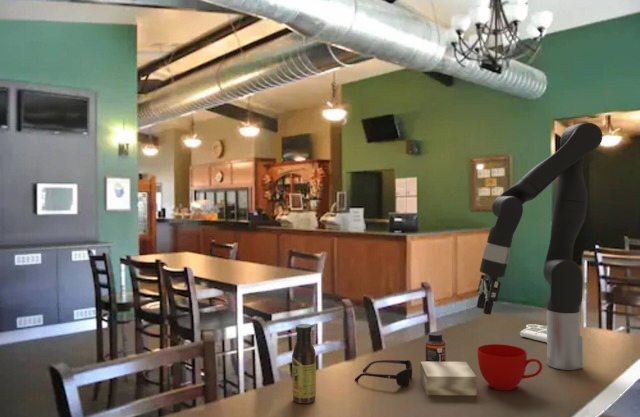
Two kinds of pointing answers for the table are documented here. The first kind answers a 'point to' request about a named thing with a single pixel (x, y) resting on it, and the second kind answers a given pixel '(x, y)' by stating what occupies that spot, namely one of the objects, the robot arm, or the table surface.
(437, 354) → the supplement bottle
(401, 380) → the sunglasses
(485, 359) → the ceramic cup
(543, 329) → the white brass knuckles
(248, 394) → the table surface
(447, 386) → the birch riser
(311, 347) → the sauce bottle
